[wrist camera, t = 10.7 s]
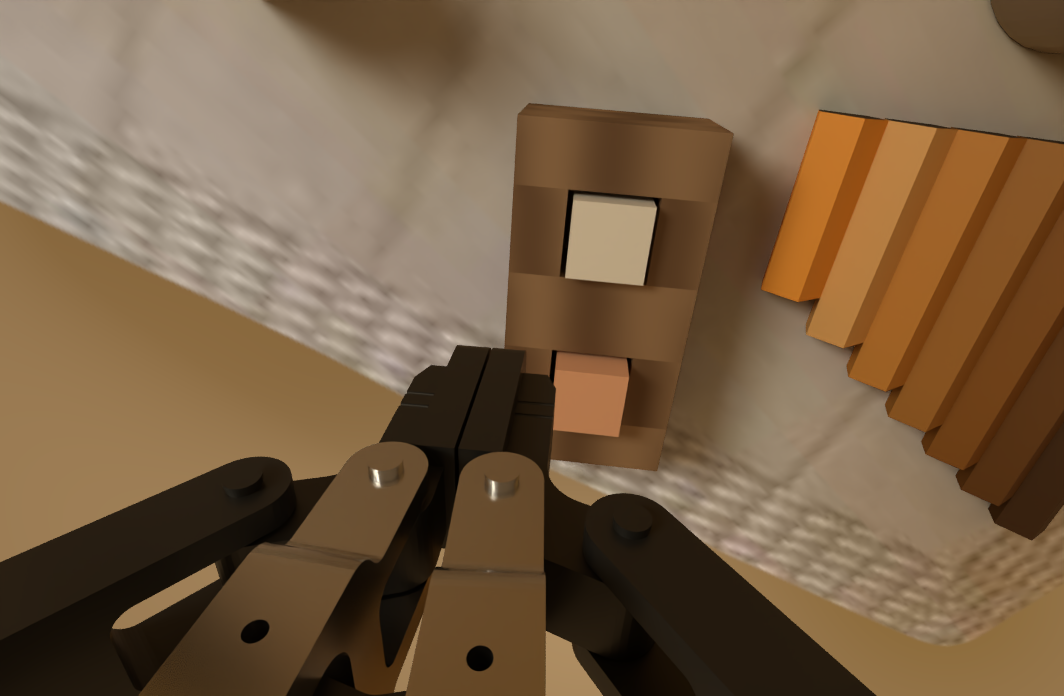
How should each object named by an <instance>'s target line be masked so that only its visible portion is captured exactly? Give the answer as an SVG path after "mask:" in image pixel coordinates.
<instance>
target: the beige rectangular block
mask: <svg viewBox="0 0 1064 696" xmlns="http://www.w3.org/2000/svg"><path fill="white" fill-rule="evenodd" d="M656 210H657V207H656V205H655V203H654V200H653V198H652V197H646V196H635V195H624V194H613V193H603V192H592V191H581V190H574V194H573V204H572V213H571V222H570V232H569V241H568V252H567V263H566V274H565V278H569V279H580V280H590V281H600V282H610V283H620V284H630V285H640V286H643V283H644V278H645V272H646V266H647V261H648V255H649V249H650V244H651V238H652V233H653V227H654V221H655V216H656Z"/></svg>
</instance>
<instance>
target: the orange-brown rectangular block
mask: <svg viewBox="0 0 1064 696" xmlns="http://www.w3.org/2000/svg"><path fill="white" fill-rule="evenodd" d="M628 381H629V372H628V365H627V358H626V357H616V356H606V355H597V354H587V353H577V352H568V351H558V350H557V355H556V364H555V374H554V383H553V384H554V386H555V388H556V397H555V411H554V425H553V430H558V431H567V432H577V433H586V434H595V435H604V436H613V437H619V431H620V426H621V420H622V415H623V409H624V404H625V398H626V392H627V387H628Z"/></svg>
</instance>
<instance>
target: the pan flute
mask: <svg viewBox="0 0 1064 696" xmlns="http://www.w3.org/2000/svg"><path fill="white" fill-rule="evenodd" d="M761 290H764V291H767V292H770V293H773V294H776V295H779V296H782V297H785V298H787V299H790V300H793V301H796V302H801V301H806V300H811V299H815V302H814V305H813V307H812V310H811V312H810V315H809V318H808V320H807V323H806V335H809V336H811V337H814V338H817V339H820V340H822V341H825V342H828V343H830V344H833V345H836V346H838V347H841V348H846V347H850V346H853V345H855V348H854V350H853V352H852V354H851V357H850V359H849V361H848V364H847V372H848V377H850V378H853V379H855V380H858V381H860V382H863V383H865V384H868V385H870V386H873V387H875V388H878V389H880V390H883V391H889V390H891V389H892V391H891V393H890V395H889V397H888V399H887V401H886V403H885V407H886V410H887V414H888V417H890V418H893V419H895V420H897V421H900V422H902V423H905V424H907V425H909V426H912V427H914V428H917V429H919V430H921V431H924V432H926V433H925V435H924V437H923V439H922V441H921V442H922V445H923V448H924V451H925V454H927V455H929V456H931V457H933V458H936V459H938V460H940V461H943V462H945V463H947V464H950V465H952V466H954V467H956V468H959V471H958V472H957V474H956V478H957V481H958V483H959V486H960V488H961V490H963V491H965V492H968V493H970V494H972V495H974V496H976V497H979V498H981V499H983V500H985V501H988V502H990V503H991V505H990V506H989V508H988V510H989V512H990V514H991V516H992V519H993V521H994V523H996V524H998V525H1000V526H1002V527H1004V528H1006V529H1008V530H1011V531H1013V532H1015V533H1017V534H1019V535H1021V536H1023V537H1026V538H1028V539H1030V540H1033V539H1034V538H1035V537H1037V536H1038V535H1039V534H1040V533H1042V532H1043V531H1044V530H1045V529H1046V527H1047V526H1048V525H1049V523H1050V522H1051V521H1052V519H1053V518H1054V517H1055V515H1056V514H1057V513H1058V511H1059V510H1060V509H1061V507H1062V506H1063V505H1064V142H1060V141H1053V140H1045V139H1038V138H1030V137H1022V136H1017V137H1016V136H1010V135H1005V134H999V133H992V132H985V131H977V130H969V129H962V128H954V127H951V128H947V127H942V126H937V125H931V124H924V123H916V122H909V121H901V120H894V119H886V118H885V119H879V118H874V117H869V116H863V115H856V114H848V113H840V112H833V111H825V110H819V111H818V114H817V117H816V120H815V123H814V126H813V129H812V132H811V135H810V138H809V141H808V144H807V147H806V150H805V153H804V157H803V160H802V163H801V166H800V169H799V172H798V175H797V178H796V181H795V184H794V187H793V190H792V193H791V196H790V199H789V202H788V205H787V208H786V211H785V214H784V217H783V220H782V223H781V226H780V229H779V232H778V235H777V239H776V242H775V245H774V248H773V251H772V254H771V257H770V260H769V263H768V266H767V269H766V272H765V275H764V278H763V281H762V287H761Z"/></svg>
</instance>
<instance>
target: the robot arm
mask: <svg viewBox="0 0 1064 696" xmlns="http://www.w3.org/2000/svg"><path fill="white" fill-rule="evenodd" d="M991 5H992V8H993V11H994V13H995V16H996V18H997V21H998V23H999V24H1000V25H1001V27H1002V28H1003V29H1004V30H1005V32H1006V33H1007V34H1008V36H1009V37H1011V38H1012V39H1014V40H1015V41H1016V42H1018V43H1019V44H1021V45H1022V46H1024V47H1027V48H1030V49H1033V50H1036V51H1039V52H1044V53H1059V54H1064V0H991ZM526 358H527V356H526V350H513V349H501V348H492V350H491V348H488V347H476V346H463V345H457V346H456V348H455V350H454V352H453V354H452V356H451V359H450V361H449V363H448V365H447V366H435V365H431V366H429V367H428V368H426V369H425V370H424V371H422V372H421V373H419V374H418V375H417V376H415V377H414V379H413V381H412V383H411V385H410V387H409V388H408V390H407V394H405V396H404V398H403V399H402V401H401V405H400V406H399V407H398V409H397V411H396V412H395V414H394V416H393V418H392V420H391V422H390V423H389V425H388V427H387V429H386V431H385V433H384V434H383V437H382V438H381V440H380V442H379V443H377V444H373V445H370V446H367V447H365V448H363V449H361V450H359V451H358V452H356V453H355V454H354V455H352V456H351V457H350V458H349V459H348V461H347V462H346V463H345V464H344V466H343V467H342V469H341V470H340V472H339V473H338V474H336V475H332V476H327V477H320V478H312V479H304V480H297V481H293V479H292V474H291V471H290V468H289V467H288V466H287V465H286V464H285V463H284V462H282V461H280V460H278V459H275V458H270V457H250V458H244V459H240V460H236V461H233V462H231V463H228V464H226V465H223V466H221V467H219V468H216V469H214V470H212V471H210V472H207V473H205V474H202V475H200V476H198V477H196V478H193V479H191V480H189V481H186V482H184V483H182V484H180V485H177V486H175V487H173V488H170V489H168V490H166V491H163V492H161V493H159V494H156V495H154V496H152V497H149V498H147V499H145V500H143V501H140V502H138V503H136V504H133V505H131V506H129V507H127V508H124V509H122V510H120V511H117V512H115V513H113V514H111V515H108V516H106V517H103V518H101V519H99V520H96V521H94V522H92V523H90V524H87V525H85V526H83V527H80V528H78V529H76V530H74V531H71V532H69V533H67V534H64V535H62V536H60V537H57V538H55V539H53V540H50V541H48V542H46V543H43V544H41V545H39V546H37V547H34V548H32V549H30V550H27V551H25V552H23V553H21V554H18V555H16V556H14V557H11V558H9V559H7V560H5V561H2V562H0V696H545V684H546V679H545V678H546V676H545V675H546V665H545V664H546V663H545V662H546V657H545V656H546V651H545V649H546V645H545V644H546V633H545V632H546V631H548V632H550V633H552V634H554V635H557V636H559V637H561V638H563V639H565V640H567V641H569V642H572V646H573V651H574V653H575V656H576V658H577V660H578V661H579V663H580V664H581V666H582V667H583V668H584V670H585V671H586V672H587V674H588V675H589V677H590V678H591V679H592V681H593V682H594V684H596V686H597V688H598V689H599V690H600V692H601V693H602V695H603V696H876V695H875V694H874V693H873V692H872V691H870V690H869V689H868V688H867V687H866V686H865V685H864V684H862V682H860V681H859V680H858V679H857V678H856V677H855V676H854V675H852V674H851V673H850V672H849V671H848V670H847V669H846V668H845V667H843V666H842V665H841V664H840V663H839V662H838V661H837V660H836V659H834V658H833V657H832V656H831V655H830V654H829V653H828V652H826V651H825V650H824V649H823V648H822V647H821V646H820V645H819V644H817V643H816V642H815V641H814V640H813V639H812V638H811V637H810V636H808V635H807V634H806V633H805V632H804V631H803V630H802V629H800V628H799V627H798V626H797V625H796V624H795V623H794V622H792V621H791V620H790V619H789V618H788V617H787V616H786V615H784V614H783V613H782V612H781V611H780V610H779V609H778V608H777V607H776V606H774V605H773V604H772V603H771V602H770V601H769V600H767V599H766V598H765V597H764V596H763V595H762V594H761V593H760V592H759V591H757V590H756V589H755V588H754V587H753V586H752V585H751V584H749V583H748V582H747V581H746V580H745V579H744V578H743V577H742V576H741V575H739V574H738V573H737V572H736V571H735V570H734V569H733V568H731V567H730V566H729V565H728V564H727V563H726V562H725V561H723V560H722V559H721V558H720V557H719V556H718V555H717V554H716V553H714V552H713V551H712V550H711V549H710V548H709V547H708V546H707V545H705V544H704V543H703V542H702V541H701V540H700V539H699V538H698V537H696V536H695V535H694V534H693V533H692V532H691V531H690V530H688V529H687V528H686V527H685V526H684V525H683V524H682V523H681V522H679V521H678V520H677V519H676V518H675V517H674V516H673V515H672V514H670V513H669V512H668V511H667V510H666V509H665V508H663V507H662V506H661V505H659V504H658V503H656V502H654V501H653V500H650V499H648V498H646V497H643V496H639V495H634V494H626V493H620V494H612V495H608V496H605V497H602V498H600V499H599V500H597V501H596V502H595V503H593V504H592V505H591V506H589V505H587V504H584V503H581V502H578V501H576V500H573V499H571V498H569V497H567V496H566V495H564V494H563V493H562V492H560V491H559V490H558V489H557V488H556V487H555V486H554V484H553V483H552V482H551V480H550V478H549V469H550V460H551V451H552V439H553V425H554V411H555V397H556V388H555V386H554V384H553V383H552V381H551V379H550V378H549V376H548V375H543V374H531V373H526ZM441 548H445V552H444V557H443V562H442V566H441V567H435V566H436V564H437V561H438V557H439V554H440V551H441ZM213 563H215V565H216V568H217V571H218V574H219V577H220V579H218V580H217V581H215V582H213V583H211V584H210V585H208V586H206V587H204V588H202V589H200V590H199V591H197V592H195V593H193V594H191V595H190V596H188V597H186V598H185V599H183V600H181V601H179V602H177V603H175V604H173V605H172V606H170V607H168V608H167V609H164V610H163V611H161V612H159V613H157V614H155V615H154V616H152V617H150V618H148V619H146V620H145V621H143V622H141V623H139V624H137V625H135V626H133V627H130V628H126V629H113V628H112V626H113V624H114V623H115V621H116V620H117V619H118V618H119V617H120V616H121V615H122V614H123V613H124V612H125V611H127V610H128V609H129V608H131V607H133V606H134V605H136V604H138V603H140V602H142V601H143V600H145V599H147V598H149V597H151V596H153V595H155V594H157V593H159V592H160V591H162V590H164V589H166V588H168V587H170V586H172V585H174V584H175V583H177V582H179V581H181V580H183V579H185V578H187V577H188V576H190V575H192V574H194V573H196V572H198V571H199V570H202V569H203V568H205V567H207V566H209V565H211V564H213ZM422 615H423V617H422ZM421 618H422V622H421V627H420V631H419V635H418V640H417V645H416V649H415V654H414V659H413V663H412V668H411V673H410V677H409V682H408V687H407V691H402V692H395V693H394V690H395V686H396V683H397V679H398V677H399V674H400V672H401V669H402V666H403V664H404V661H405V659H406V656H407V653H408V651H409V649H410V646H411V643H412V641H413V638H414V636H415V633H416V631H417V628H418V626H419V623H420V620H421Z"/></svg>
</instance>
